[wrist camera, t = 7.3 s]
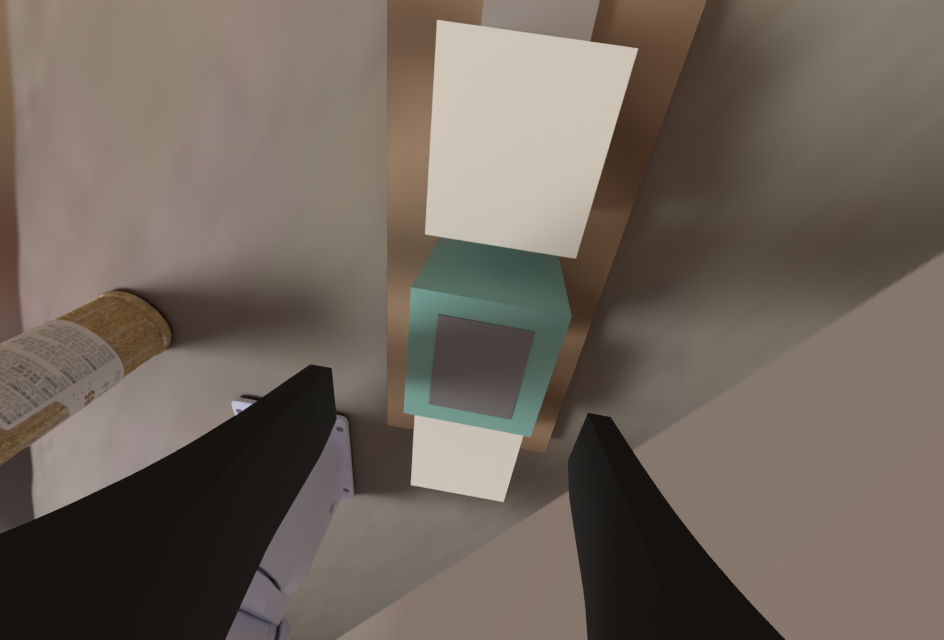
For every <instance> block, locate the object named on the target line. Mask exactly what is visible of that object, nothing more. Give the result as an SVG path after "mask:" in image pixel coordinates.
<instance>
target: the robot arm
mask: <svg viewBox="0 0 944 640" xmlns="http://www.w3.org/2000/svg"><path fill="white" fill-rule="evenodd" d="M231 405H232V408H233V411H234V414H235V416H234V417H232V418H231V419H229V420H227V421H226V422H224V423H222V424H221V425H219V426H218V427H216V428H214V429H213V430H211V431H209V432H208V433H206V434H205V435H203V436H201V437H200V438H198V439H197V440H195V441H193V442H191V443H190V444H188V445H186V446H184V447H183V448H181V449H179V450H177V451H176V452H174V453H172V454H170V455H168V456H166V457H165V458H163V459H161V460H159V461H157V462H155V463H153V464H151V465H150V466H148V467H146V468H144V469H142V470H140V471H138V472H136V473H134V474H132V475H130V476H128V477H126V478H124V479H122V480H120V481H118V482H116V483H113V484H111V485H109V486H107V487H105V488H103V489H101V490H99V491H97V492H95V493H92V494H90V495H88V496H86V497H84V498H82V499H80V500H78V501H76V502H73V503H71V504H69V505H67V506H65V507H62V508H60V509H58V510H55V511H53V512H51V513H49V514H46V515H44V516H42V517H39V518H37V519H35V520H33V521H30V522H28V523H25V524H23V525H20V526H18V527H16V528H13V529H11V530H8V531H6V532H4V533H1V534H0V640H291V639H290V632H291V629H290V623H289V621H288V620H287V619H286V618H284V617H283V615H284V613H285V610H286V608H287V606H288V604H289V602H290V599H291V598H290V597H289V596H290V595H291V594H292V593H293V592H294V591H295V590H296V589H297V588H298V587H299V585H300V584H301V583H302V581H303V580H304V578H305V576H306V574H307V572H308V570H309V568H310V566H311V563H312V561H313V559H314V557H315V554H316V552H317V550H318V548H319V545H320V543H321V541H322V539H323V536H324V534H325V532H326V530H327V527H328V525H329V523H330V521H331V519H332V516H333V514H334V512H335V510H336V507H337V505H338V503H339V501H340V500H344V501H352V500H353V498H354V495H355V494H354V482H353V470H352V458H351V446H350V434H349V422H348V420H347V418H346V417H344V416H341V415H336V407H335V397H334V387H333V378H332V368H328V367H322V366H316V365H311V364H310V365H309V366H307V367H306V368H304V369H303V370H301V371H300V372H299V373H297V374H296V375H294V376H293V377H291V378H290V379H288V380H287V381H285V382H284V383H283V384H281V385H280V386H278V387H277V388H275V389H274V390H272V391H271V392H270V393H268V394H267V395H265V396H264V397H262V398H261V399H259V400H258V401H257V400H251V399H246V398H238V397H237V398H235V399H234V400H233V401H232V403H231ZM568 477H569V498H570V505H571V512H572V519H573V526H574V532H575V539H576V545H577V552H578V558H579V564H580V571H581V577H582V584H583V591H584V599H585V608H586V621H587V636H588V640H785V639H784V638H783V637H782V636H781V635H780V634H779V633H778V632H777V631H776V630H775V628H774V627H773V626H772V625H771V624H770V623H769V622H768V621H767V620H766V619H765V618H764V617H763V616H762V615H761V614H760V613H759V612H758V610H757V609H756V608H755V607H754V606H753V605H752V604H751V603H750V602H749V601H748V600H747V599H746V597H745V596H744V595H743V594H742V593H741V592H740V591H739V590H738V589H737V587H736V586H735V585H734V584H733V583H732V582H731V581H730V580H729V578H728V577H727V576H726V575H725V574H724V572H723V571H722V570H721V569H720V568H719V567H718V565H717V564H716V563H715V562H714V561H713V560H712V558H711V557H710V556H709V555H708V554H707V553H706V551H705V550H704V549H703V548H702V546H701V545H700V544H699V543H698V542H697V540H696V539H695V538H694V536H693V535H692V534H691V533H690V531H689V530H688V529H687V527H686V526H685V525H684V524H683V522H682V521H681V520H680V518H679V517H678V516H677V514H676V513H675V512H674V510H673V509H672V508H671V506H670V505H669V503H668V502H667V501H666V499H665V498H664V496H663V495H662V494H661V492H660V491H659V489H658V488H657V486H656V485H655V484H654V482H653V481H652V479H651V478H650V476H649V475H648V474H647V472H646V471H645V469H644V468H643V466H642V465H641V463H640V462H639V460H638V459H637V457H636V456H635V454H634V452H633V451H632V449H631V448H630V446H629V445H628V443H627V442H626V440H625V439H624V437H623V436H622V434H621V432H620V431H619V429H618V428H617V426H616V425H615V423H614V422H613V420H612V419H611V417H608V416H602V415H596V414H591V413H588V414H587V417H586V419H585V421H584V424H583V426H582V429H581V431H580V433H579V436H578V438H577V441H576V443H575V445H574V448H573V450H572V452H571V455H570V457H569V460H568Z"/></svg>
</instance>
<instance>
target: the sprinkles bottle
mask: <svg viewBox="0 0 944 640" xmlns="http://www.w3.org/2000/svg"><path fill="white" fill-rule="evenodd" d="M171 338H172V336H171V332H170V328H169V326H168V324H167V322H166V321H165V319H164V318H163V317H162V316H161V314H160V313H159V312H158V311H157V310H156V309H155V308H153V307H152V306H151V305H150V304H148V303H147V302H146V301H144V300H143V299H141V298H139V297H137V296H135V295H133V294H130V293H126V292H120V291H108V292H105V293H102V294H100V295H99V296H98V297H96V298H95V299H94V301H92V302H90V303H88V304H86V305H83V306H82V307H80V308H77V309H76V310H73V311H72V312H70V313H67V314H65V315H63V316H62V317H59V318H57V319H55V320H50V321H47V322H45V323H43V324H40V325H38V326H36V327H34V328H32V329H30V330H28V331H26V332H24V333H22V334H20V335H18V336H15V337H13V338H11V339H9V340H7V341H5V342H3V343H1V344H0V465H1V464H2V463H4V462H5V461H7V460H8V459H10V458H11V457H13V456H14V455H15V454H17V453H18V452H19V451H20V450H22V449H23V448H25V447H27V446H29V445H31V444H33V443H34V442H36V441H37V440H39V439H40V438H41V437H43V436H44V435H46V434H47V433H48V432H50V431H51V430H53V429H54V428H55V427H57V426H58V425H60V424H61V423H63V422H64V421H65V420H67V419H68V418H70V417H71V416H72V415H74V414H75V413H77V412H78V411H79V410H81V409H82V408H84V407H85V406H86V405H88V404H89V403H91V402H92V401H93V400H95V399H96V398H98V397H99V396H100V395H102V394H103V393H105V392H106V391H108V390H109V389H110V388H112V387H113V386H114V385H116V384H117V383H119V382H120V381H121V379H122V378H124V377H125V376H126V375H128V374H129V373H130V372H132V371H133V370H135V369H136V368H137V367H139V366H140V365H141V364H143V363H144V362H146V361H148V360H149V359H150V358H152V357H153V356H155V355H158V354H160V353H162V352H163V351H165V350H166V349H167V348H168V346H169V344H170V341H171Z"/></svg>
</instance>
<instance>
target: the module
mask: <svg viewBox="0 0 944 640" xmlns="http://www.w3.org/2000/svg"><path fill="white" fill-rule="evenodd" d="M571 317H572V315H571V311H570V306H569V302H568V297H567V292H566V288H565V283H564V279H563V274H562V270H561V265H560V261H559V256H556V255H550V254H543V253H537V252H531V251H525V250H519V249H512V248H506V247H500V246H494V245H488V244H481V243H475V242H469V241H463V240H457V239H450V238H444V237H439V239H438V240H437V242H436V244H435V246H434V247H433V249H432V251H431V253H430V254H429V256H428V258H427V260H426V261H425V263H424V265H423V267H422V268H421V270H420V272H419V274H418V276H417V277H416V279H415V281H414V283H413V284H412V286H411V294H410V311H409V328H408V346H407V363H406V380H405V397H404V413H407V414H412V415H417V416H423V417H428V418H433V419H438V420H444V421H449V422H454V423H459V424H465V425H470V426H475V427H480V428H486V429H491V430H496V431H501V432H507V433H512V434H517V435H523V436H528V437H531V434H532V431H533V428H534V425H535V422H536V420H537V417H538V414H539V411H540V408H541V405H542V402H543V399H544V396H545V393H546V390H547V387H548V384H549V382H550V379H551V376H552V373H553V370H554V367H555V364H556V361H557V358H558V355H559V352H560V349H561V346H562V343H563V341H564V338H565V335H566V332H567V329H568V326H569V323H570V320H571Z"/></svg>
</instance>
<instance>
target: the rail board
mask: <svg viewBox="0 0 944 640" xmlns="http://www.w3.org/2000/svg"><path fill="white" fill-rule="evenodd" d="M706 1H707V0H600V2H599V6H598V11H597V15H596V19H595V23H594V28H593V32H592V36H591V40H590V42H597V43H604V44H611V45H618V46H625V47H632V48H638V51H637V54H636V58H635V61H634V64H633V68H632V71H631V75H630V78H629V81H628V85H627V88H626V91H625V95H624V98H623V102H622V105H621V108H620V112H619V115H618V118H617V122H616V125H615V129H614V132H613V135H612V139H611V142H610V145H609V149H608V152H607V155H606V159H605V162H604V166H603V169H602V172H601V176H600V179H599V182H598V186H597V189H596V193H595V196H594V199H593V203H592V206H591V209H590V213H589V216H588V219H587V223H586V226H585V230H584V233H583V236H582V240H581V243H580V246H579V250H578V253H577V257H576V259H574V258H568V257H562V256H559V261H560V265H561V270H562V274H563V279H564V283H565V288H566V292H567V297H568V302H569V306H570V311H571V315H572V317H571V320H570V323H569V326H568V329H567V332H566V335H565V338H564V341H563V343H562V346H561V349H560V352H559V355H558V358H557V361H556V364H555V367H554V370H553V373H552V376H551V379H550V382H549V384H548V387H547V390H546V393H545V396H544V399H543V402H542V405H541V408H540V411H539V414H538V417H537V420H536V422H535V425H534V428H533V431H532V434H531V437H528V436H523V438H522V442H521V445H520V449H523V450H528V451H534V452H539V453H545V451H546V448H547V446H548V443H549V440H550V437H551V434H552V432H553V429H554V426H555V423H556V420H557V418H558V415H559V412H560V409H561V406H562V404H563V401H564V398H565V395H566V393H567V390H568V387H569V384H570V381H571V379H572V376H573V373H574V370H575V367H576V365H577V362H578V359H579V356H580V353H581V351H582V348H583V345H584V342H585V339H586V337H587V334H588V331H589V328H590V325H591V323H592V320H593V317H594V314H595V311H596V309H597V306H598V303H599V300H600V297H601V295H602V292H603V289H604V286H605V283H606V281H607V278H608V275H609V272H610V269H611V267H612V264H613V261H614V258H615V255H616V253H617V250H618V247H619V244H620V241H621V239H622V236H623V233H624V230H625V227H626V225H627V222H628V219H629V216H630V213H631V211H632V208H633V205H634V202H635V199H636V197H637V194H638V191H639V188H640V185H641V183H642V180H643V177H644V174H645V172H646V169H647V166H648V163H649V160H650V158H651V155H652V152H653V149H654V146H655V144H656V141H657V138H658V135H659V132H660V130H661V127H662V124H663V121H664V118H665V116H666V113H667V110H668V107H669V104H670V102H671V99H672V96H673V93H674V90H675V88H676V85H677V82H678V79H679V76H680V74H681V71H682V68H683V65H684V62H685V60H686V57H687V54H688V51H689V48H690V46H691V43H692V40H693V37H694V34H695V32H696V29H697V26H698V23H699V20H700V18H701V15H702V12H703V9H704V6H705V4H706ZM483 3H484V0H387V425H388V426H394V427H399V428H405V429H411V430H414V418H415V415H412V414H407V413H404V397H405V380H406V363H407V346H408V328H409V311H410V294H411V286H412V284H413V283H414V281H415V279H416V277H417V276H418V274H419V272H420V270H421V268H422V267H423V265H424V263H425V261H426V260H427V258H428V256H429V254H430V253H431V251H432V249H433V247H434V246H435V244H436V242H437V240H438V239H439V237H438V236H432V235H425V224H426V206H427V188H428V171H429V153H430V135H431V118H432V100H433V82H434V65H435V47H436V29H437V20H442V21H449V22H456V23H463V24H470V25H477V26H481V22H482V12H483Z"/></svg>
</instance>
